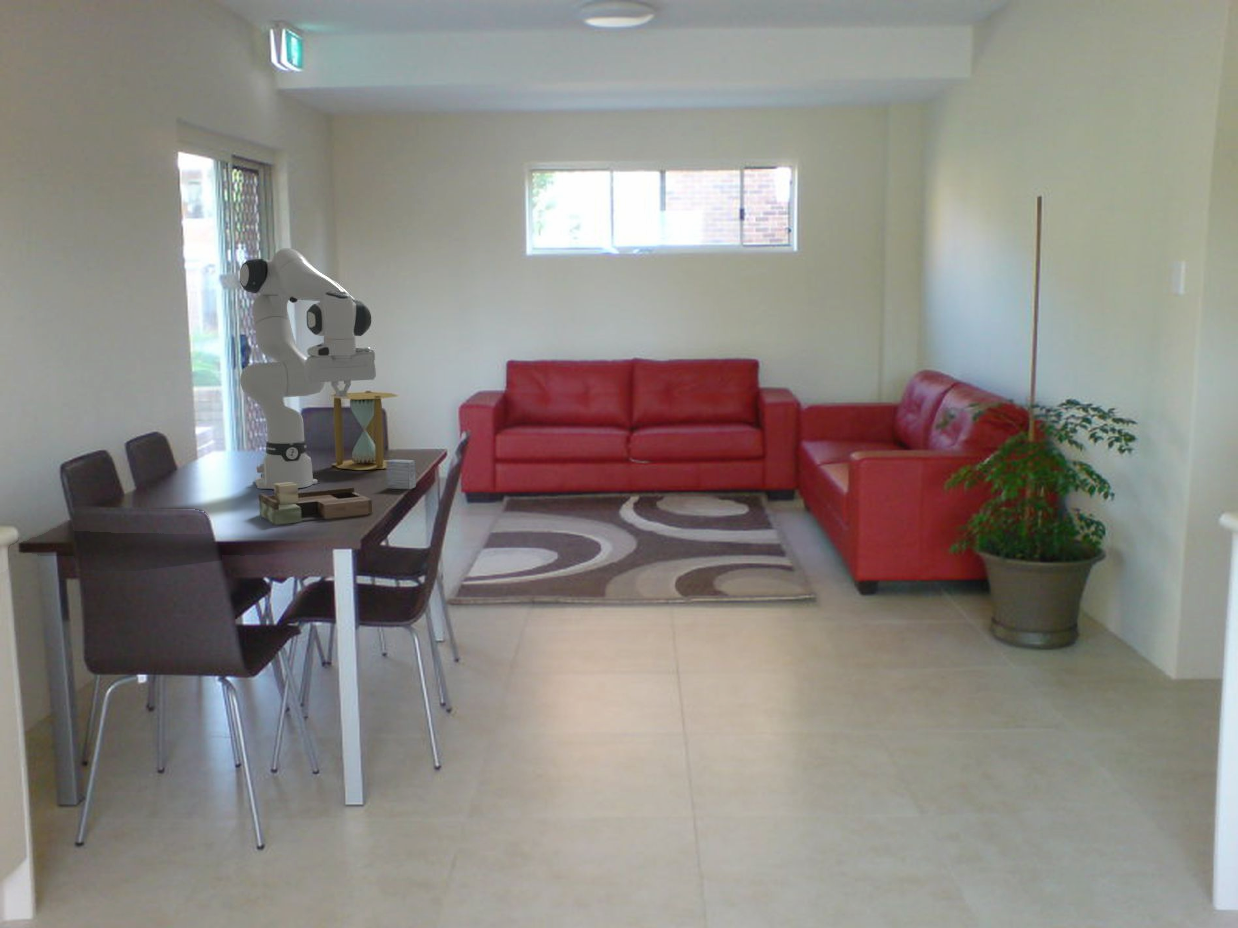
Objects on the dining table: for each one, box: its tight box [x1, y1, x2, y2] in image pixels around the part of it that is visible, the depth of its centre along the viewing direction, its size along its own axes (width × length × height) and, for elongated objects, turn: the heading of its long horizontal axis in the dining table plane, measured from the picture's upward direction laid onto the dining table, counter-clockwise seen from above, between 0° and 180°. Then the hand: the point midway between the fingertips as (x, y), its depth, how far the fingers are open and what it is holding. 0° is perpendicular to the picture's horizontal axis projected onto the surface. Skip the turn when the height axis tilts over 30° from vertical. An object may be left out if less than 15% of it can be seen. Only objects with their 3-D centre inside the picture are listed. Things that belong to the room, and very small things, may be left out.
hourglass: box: [329, 390, 399, 471], centre depth 410 cm, size 24×22×25 cm
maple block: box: [273, 482, 299, 504], centre depth 327 cm, size 5×5×5 cm
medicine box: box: [385, 459, 417, 490], centre depth 369 cm, size 8×4×9 cm, turn 74°
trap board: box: [258, 487, 373, 526], centre depth 330 cm, size 15×27×6 cm, turn 122°
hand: (341, 396), depth 341 cm, fingers closed
